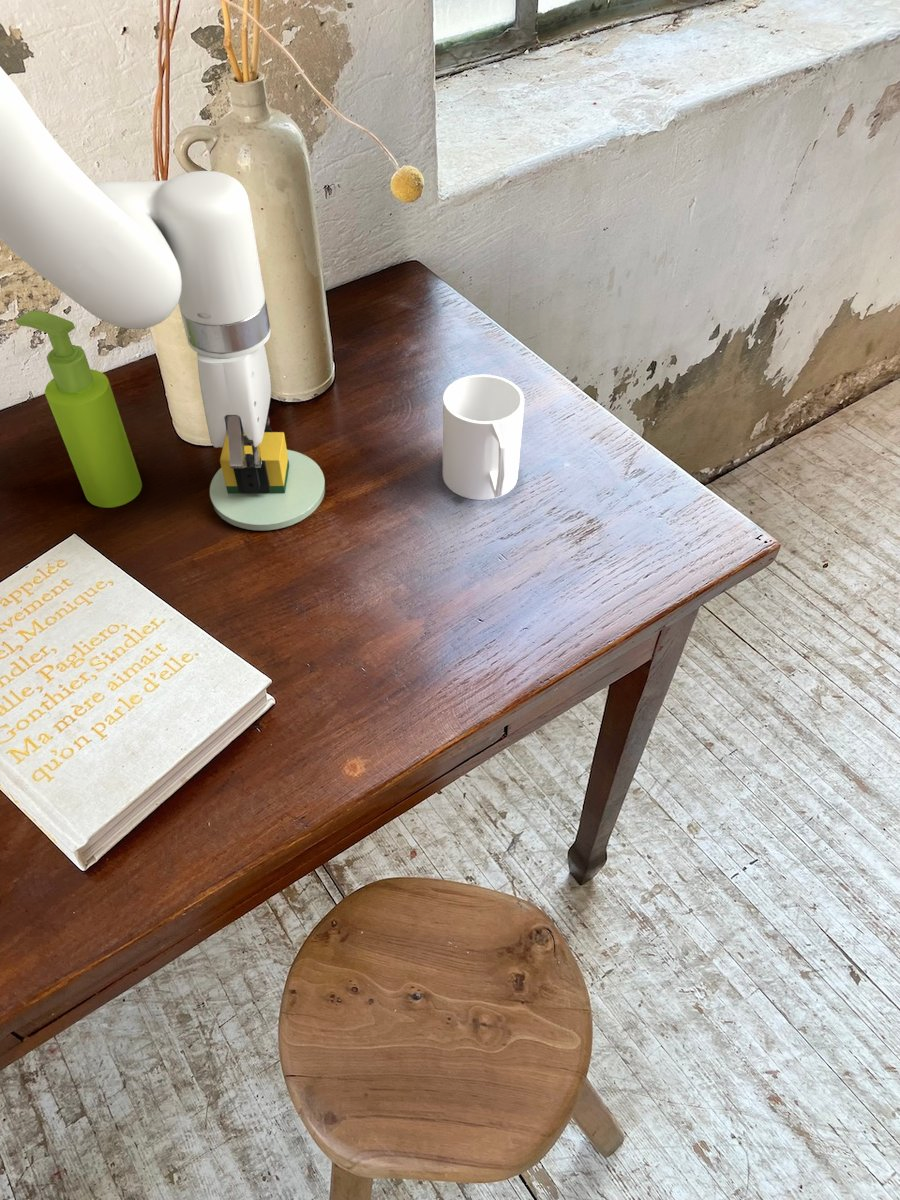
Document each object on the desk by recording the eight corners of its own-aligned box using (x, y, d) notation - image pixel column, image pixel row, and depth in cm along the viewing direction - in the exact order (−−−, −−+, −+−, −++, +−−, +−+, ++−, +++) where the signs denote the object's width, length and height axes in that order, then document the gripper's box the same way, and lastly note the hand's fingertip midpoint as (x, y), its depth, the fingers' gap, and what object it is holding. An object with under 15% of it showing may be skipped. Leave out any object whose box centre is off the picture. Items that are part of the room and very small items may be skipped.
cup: (460, 529, 93) (462, 453, 85) (435, 455, 100) (435, 379, 93) (537, 518, 94) (545, 441, 86) (506, 445, 101) (512, 370, 94)
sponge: (227, 493, 94) (219, 460, 91) (233, 465, 97) (226, 432, 94) (285, 493, 94) (279, 460, 91) (289, 465, 97) (284, 431, 94)
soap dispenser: (102, 462, 99) (42, 295, 84) (153, 481, 97) (101, 314, 82) (65, 494, 95) (-5, 326, 80) (117, 514, 93) (56, 346, 78)
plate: (203, 533, 92) (200, 524, 91) (220, 456, 100) (218, 448, 99) (321, 532, 92) (320, 524, 91) (329, 456, 100) (328, 447, 99)
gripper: (200, 272, 87) (233, 424, 101) (166, 376, 76) (209, 531, 89) (278, 272, 87) (301, 424, 101) (256, 376, 76) (285, 531, 90)
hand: (257, 473), depth 95 cm, fingers closed on sponge, 4 cm apart
